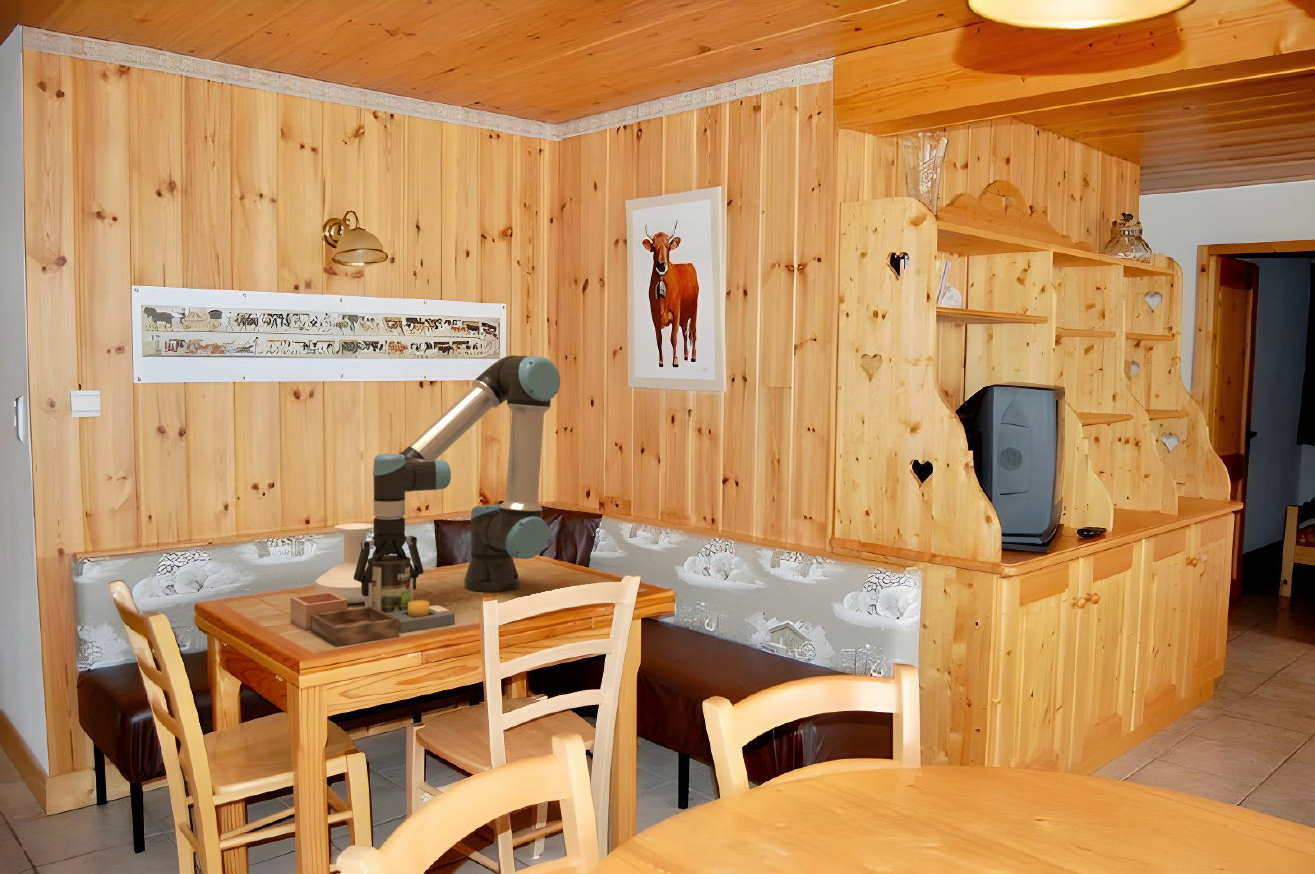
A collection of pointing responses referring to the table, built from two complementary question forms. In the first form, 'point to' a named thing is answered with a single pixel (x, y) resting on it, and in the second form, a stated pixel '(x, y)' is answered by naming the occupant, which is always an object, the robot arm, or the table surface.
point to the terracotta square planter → (314, 607)
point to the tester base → (424, 619)
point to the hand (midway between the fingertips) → (389, 605)
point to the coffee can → (390, 583)
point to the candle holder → (346, 565)
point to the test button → (418, 608)
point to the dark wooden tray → (354, 626)
